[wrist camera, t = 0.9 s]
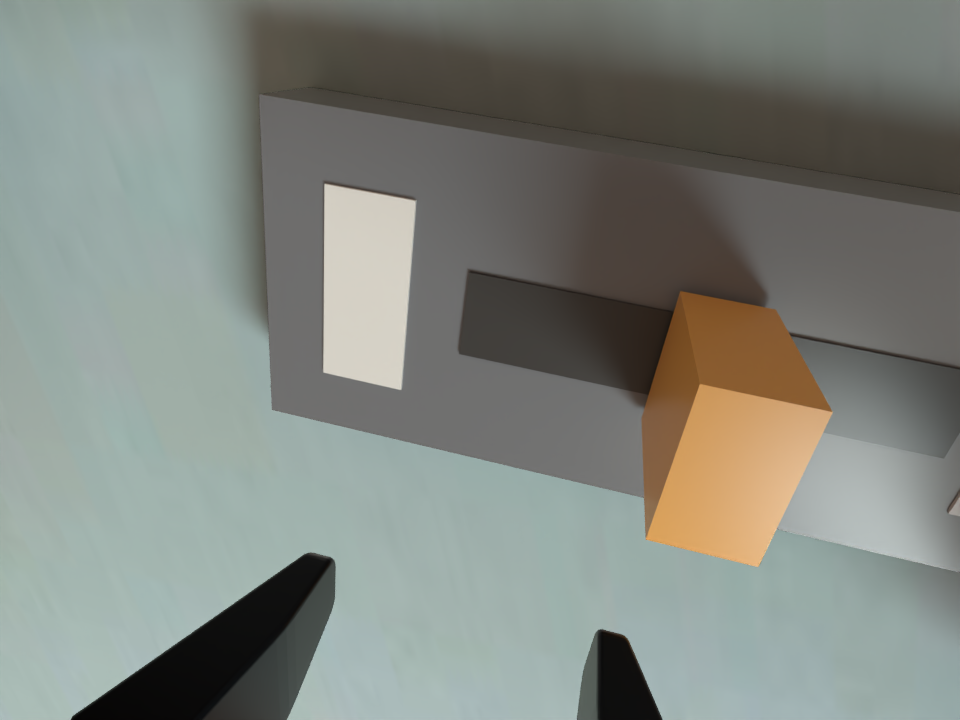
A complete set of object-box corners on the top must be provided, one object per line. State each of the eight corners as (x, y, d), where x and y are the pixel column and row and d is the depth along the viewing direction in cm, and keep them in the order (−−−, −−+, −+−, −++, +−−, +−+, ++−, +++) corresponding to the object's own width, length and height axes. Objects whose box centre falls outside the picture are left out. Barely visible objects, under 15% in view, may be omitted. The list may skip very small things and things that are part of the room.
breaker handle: (775, 309, 16) (832, 411, 11) (725, 437, 18) (758, 567, 13) (680, 290, 16) (700, 383, 12) (641, 418, 18) (645, 539, 14)
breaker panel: (1183, 231, 16) (1296, 269, 13) (982, 521, 21) (1035, 592, 18) (309, 87, 19) (257, 94, 16) (311, 369, 24) (270, 411, 21)
